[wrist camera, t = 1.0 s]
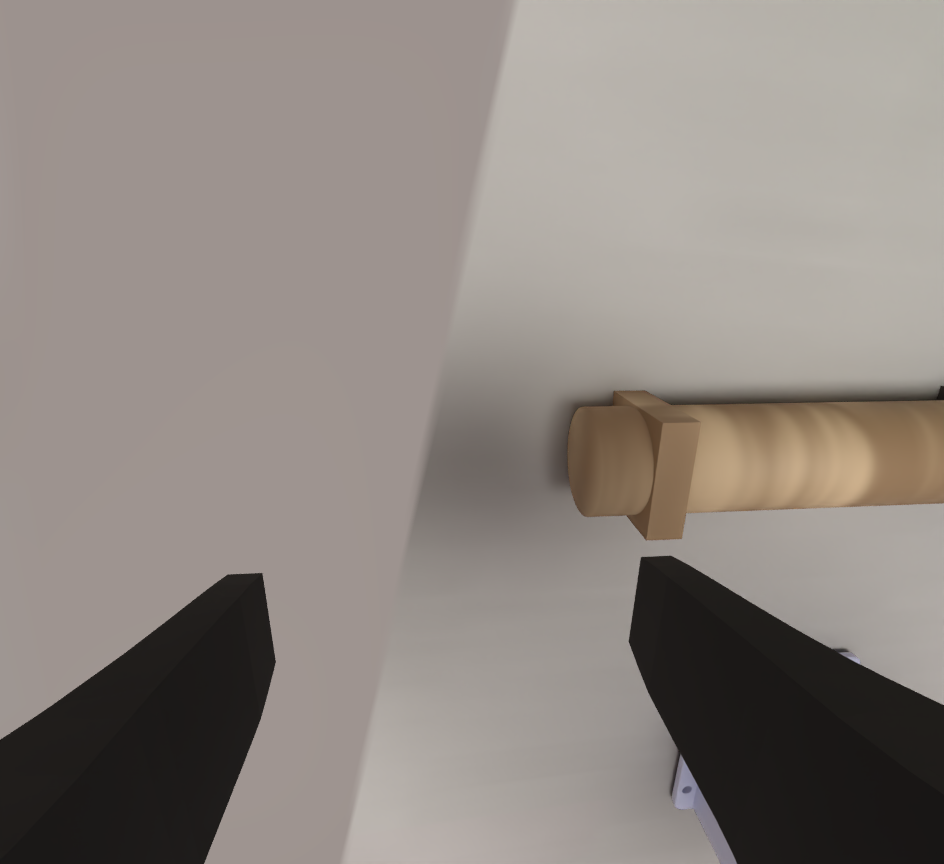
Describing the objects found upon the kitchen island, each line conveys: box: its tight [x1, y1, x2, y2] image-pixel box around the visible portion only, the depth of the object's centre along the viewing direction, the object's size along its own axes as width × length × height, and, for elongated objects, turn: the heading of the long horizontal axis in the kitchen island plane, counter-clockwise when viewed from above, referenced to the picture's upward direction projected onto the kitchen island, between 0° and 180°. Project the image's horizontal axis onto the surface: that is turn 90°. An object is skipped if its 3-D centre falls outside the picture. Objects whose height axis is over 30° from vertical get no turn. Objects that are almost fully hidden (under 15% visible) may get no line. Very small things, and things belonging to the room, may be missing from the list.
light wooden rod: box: [567, 386, 944, 540], centre depth 18 cm, size 18×4×4 cm, turn 89°
